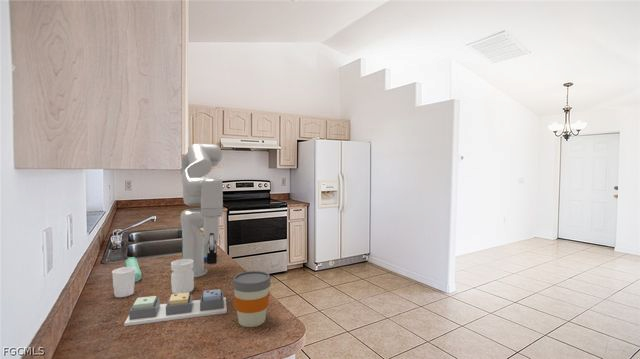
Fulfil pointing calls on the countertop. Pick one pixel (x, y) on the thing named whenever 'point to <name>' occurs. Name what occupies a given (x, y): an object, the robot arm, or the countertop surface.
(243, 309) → the reusable coffee cup
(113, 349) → the countertop surface
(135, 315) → the button panel
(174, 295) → the button
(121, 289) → the white cup
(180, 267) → the vase
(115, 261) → the countertop surface
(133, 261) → the container
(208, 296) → the button
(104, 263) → the countertop surface
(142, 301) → the button
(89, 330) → the countertop surface
